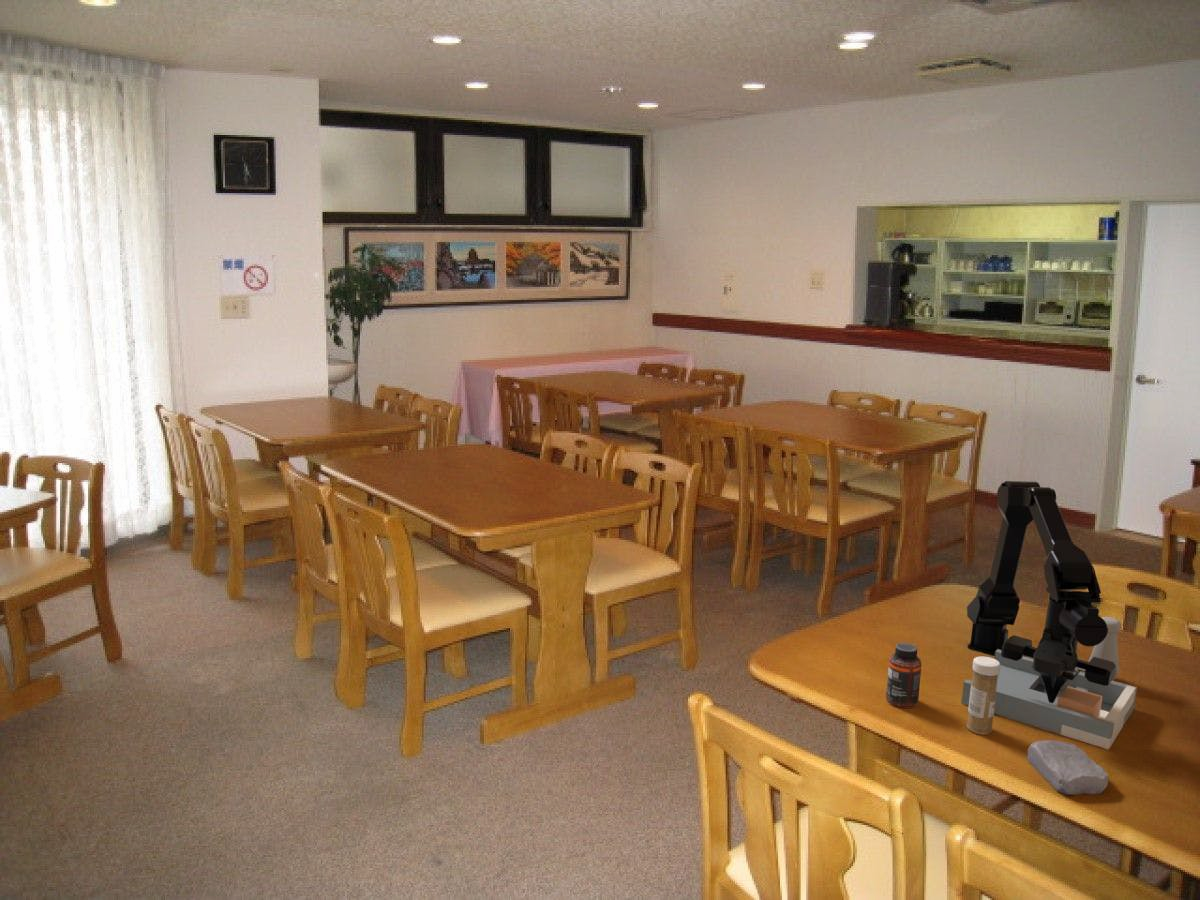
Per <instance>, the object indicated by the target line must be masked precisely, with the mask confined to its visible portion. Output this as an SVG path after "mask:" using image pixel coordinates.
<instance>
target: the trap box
mask: <svg viewBox="0 0 1200 900" xmlns="http://www.w3.org/2000/svg"><path fill="white" fill-rule="evenodd" d="M994 659H996V660H997V661H999V663H1000V672H999V674H998V679H997V687H996V699H995V708H994V715H997V716H1000V717H1003V718H1005V719H1006V718H1008V719H1009V720H1012V721H1013V720H1014V721H1016V722H1019V723H1023V724H1025V725H1029V726H1032V727H1036V728H1037V729H1038V728H1039V729H1042V730H1045V731H1048V732H1052V733H1055V734H1057V735H1061V736H1064V737H1067V738H1071V739H1073V740H1076V741H1080V742H1084V743H1087V744H1090V745H1094V746H1097V747H1100V748H1103V749H1105V750H1109V749H1110V748H1111V747H1112V745H1113V743H1114V742H1115V740H1116V738H1117V737H1118V735H1119V734H1120V732H1121V731H1122V729H1123V727H1124V726H1125V724H1126V723H1127V720H1128V719H1129V717H1130V716H1131V714H1132V713H1133V711H1134V709H1135V703H1136V697H1137V691H1138V687H1137V686H1134V685H1131V684H1127V683H1123V682H1121V681H1120V682H1119V681H1117V680H1116V681H1115V680H1113V681H1111V682H1110V684H1109V685H1108V686H1103V685H1100V684H1096V683H1093V682H1089V681H1088V680H1087V679H1086V677H1085V672H1083V671H1080V672H1079V674H1078V675H1077V676H1076V677H1075V679H1074V680H1069V679H1068V680H1067V681H1066V682H1065V684H1064V686H1063V687H1062V689H1061V691H1060V693H1059V694H1058V696H1057V698H1056V700H1055V701H1054V703H1050V702H1049V701H1048V697H1047V693H1046V689H1045V685H1044V681H1043V679H1042V676H1041V674H1040V673H1039V672H1037V671H1035V670H1034V669H1033V668H1032V666H1033V657H1029V656H1025V655H1023V658H1022V659H1020V660H1018V661H1015V660H1011V659H1008V658H1004V657H1002V656H1001V650H999V649H997V650H996V651H995V655H994ZM1055 681H1056V679H1055ZM971 684H972V679H965V680H964V681H963V685H962V694H961V695H962V696H961V702H960V704H962V705H965V706H968V707H969V699H970V690H971ZM1068 686H1070V687H1073V688H1077V689H1080V690H1083V691H1087V692H1090V693H1094V694H1097V695H1100V696H1103V697H1102V703H1101V710H1100V716H1099V718H1096V717H1092V716H1089V715H1085V714H1082V713H1079V712H1075V711H1072V710H1069V709H1065V708H1062V707H1059V706H1057V702H1058V697H1059V695H1060V694H1061V693H1062V692H1063V691H1064V690H1065V689H1066V688H1067V687H1068ZM1123 725H1124V726H1123Z"/></svg>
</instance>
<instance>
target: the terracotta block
mask: <svg viewBox="0 0 1200 900" xmlns="http://www.w3.org/2000/svg"><path fill="white" fill-rule="evenodd" d="M1102 697H1103V696H1100V695H1097V694H1094V693H1090V692H1087V691H1083V690H1080V689H1077V688H1073V687H1070V686H1068V687H1067V688H1066V689H1065V690H1064V691H1063V692H1062V693H1061V694H1060V695H1059V697H1058V702H1057V706H1059V707H1062V708H1065V709H1069V710H1072V711H1075V712H1079V713H1082V714H1085V715H1089V716H1092V717H1096V718H1099V716H1100V710H1101V703H1102Z"/></svg>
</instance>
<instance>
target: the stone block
mask: <svg viewBox="0 0 1200 900" xmlns="http://www.w3.org/2000/svg"><path fill="white" fill-rule="evenodd" d="M1026 758H1027V761H1028V763H1029V764H1030V765H1031V766H1032V767H1033V768H1034V769H1035V770H1036V771H1037V773H1039V774H1040V775H1041V777H1043V779H1045V781H1047V782H1048V783H1049V785H1051V787H1052V788H1053V789H1054V790H1055V791H1056V792H1058V793H1060V794H1062V795H1063V796H1069V795H1073V796H1076V795H1083V794H1089V795H1091V794H1092V795H1095V794H1096V795H1097V794H1098V795H1099V794H1102V793H1103V791H1105V789H1106V788H1107V786H1108V785H1109V773H1108V772H1107V771H1105V770H1104V769H1103V766H1101V765H1098V764H1097V763H1096V762H1095V761H1094V760H1093V759H1091V758H1090V757H1089V756H1088V754H1087V753H1086V752H1085V751H1084V750H1082V749H1081V748H1079V746H1078V745H1075V744H1073V743H1071V742H1066V741H1059V740H1049V739H1047V740H1037V741H1034V742H1033V743H1031V744H1030V745H1029V747H1028V748H1027V757H1026Z"/></svg>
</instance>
